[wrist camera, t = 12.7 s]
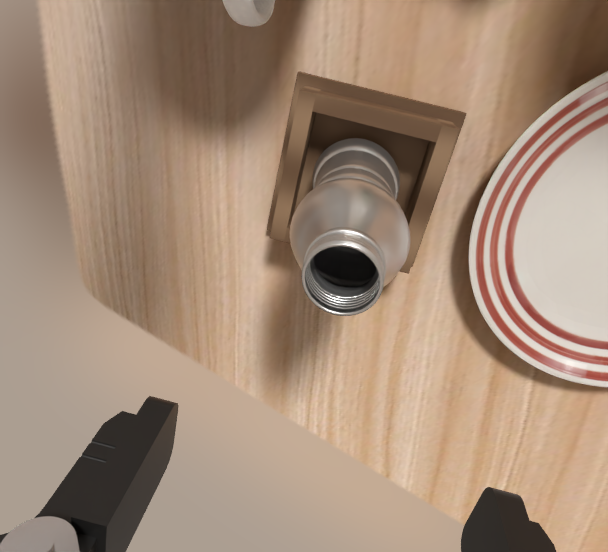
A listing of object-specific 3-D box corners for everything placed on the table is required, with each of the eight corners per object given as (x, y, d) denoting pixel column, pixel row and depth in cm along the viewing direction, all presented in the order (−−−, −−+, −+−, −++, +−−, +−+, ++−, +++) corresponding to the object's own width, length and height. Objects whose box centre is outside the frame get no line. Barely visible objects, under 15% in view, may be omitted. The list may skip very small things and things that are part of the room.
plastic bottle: (345, 115, 38) (318, 178, 20) (416, 165, 39) (450, 267, 21) (300, 183, 41) (241, 292, 23) (367, 228, 42) (361, 367, 24)
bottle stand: (299, 71, 38) (290, 74, 34) (464, 112, 38) (474, 120, 34) (268, 226, 44) (258, 244, 40) (411, 263, 43) (415, 284, 39)
